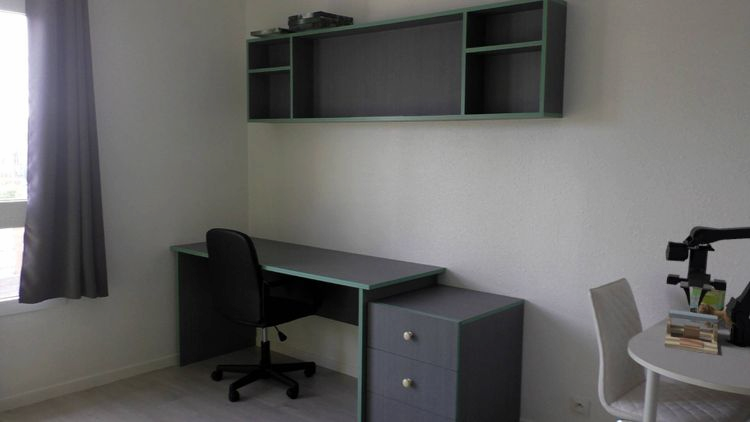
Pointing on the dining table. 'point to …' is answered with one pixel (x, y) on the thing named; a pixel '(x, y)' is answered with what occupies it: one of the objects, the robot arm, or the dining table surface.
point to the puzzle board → (691, 343)
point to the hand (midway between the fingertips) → (694, 306)
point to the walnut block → (691, 332)
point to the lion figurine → (710, 310)
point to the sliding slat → (693, 316)
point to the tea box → (708, 300)
